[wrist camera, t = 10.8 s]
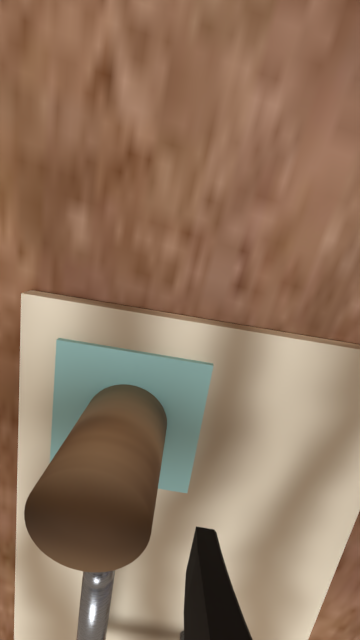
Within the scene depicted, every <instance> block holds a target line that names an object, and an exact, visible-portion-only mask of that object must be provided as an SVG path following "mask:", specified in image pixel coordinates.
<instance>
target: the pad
mask: <svg viewBox="0 0 360 640" xmlns="http://www.w3.org/2000/svg"><path fill="white" fill-rule="evenodd" d="M212 371H213V363H208V362H202V361H196V360H190V359H184V358H178V357H172V356H166V355H160V354H154V353H148V352H142V351H136V350H129V349H123V348H117V347H111V346H105V345H99V344H93V343H87V342H81V341H75V340H69V339H63V338H58V339H57V340H56V357H55V375H54V394H53V412H52V430H51V448H50V462H51V461H52V459H53V458H54V456H55V454H56V453H57V451H58V450H59V448H60V447H61V445H62V444H63V442H64V441H65V439H66V438H67V436H68V435H69V433H70V432H71V430H72V429H73V427H74V426H75V424H76V423H77V421H78V420H79V418H80V416H81V415H82V413H83V412H84V410H85V409H86V407H87V406H88V404H89V403H90V401H91V400H92V398H93V397H94V396H95V395H96V394H97V393H99V392H100V391H101V390H103V389H105V388H107V387H110V386H114V385H120V384H127V385H133V386H137V387H140V388H143V389H145V390H147V391H148V392H150V393H151V394H152V395H154V396H155V397H156V398H157V399H158V400H159V402H160V403H161V405H162V406H163V408H164V411H165V413H166V417H167V430H166V437H165V443H164V450H163V457H162V464H161V470H160V477H159V484H158V489H163V490H169V491H176V492H182V493H187V492H188V488H189V483H190V478H191V473H192V468H193V463H194V458H195V453H196V449H197V444H198V439H199V434H200V429H201V424H202V419H203V415H204V410H205V405H206V400H207V395H208V390H209V385H210V380H211V376H212Z"/></svg>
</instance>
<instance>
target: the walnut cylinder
mask: <svg viewBox="0 0 360 640" xmlns="http://www.w3.org/2000/svg"><path fill="white" fill-rule="evenodd" d="M166 430H167V417H166V413H165V411H164V408H163V406H162V405H161V403H160V402H159V400H158V399H157V398H156V397H155V396H154V395H152V394H151V393H150V392H148V391H147V390H145V389H143V388H140V387H137V386H133V385H127V384H120V385H114V386H110V387H107V388H105V389H103V390H101V391H100V392H99V393H97V394H96V395H95V396H94V397H93V398H92V400H91V401H90V403H89V404H88V406H87V407H86V409H85V410H84V412H83V413H82V415H81V416H80V418H79V420H78V421H77V423H76V424H75V426H74V427H73V429H72V430H71V432H70V433H69V435H68V436H67V438H66V439H65V441H64V442H63V444H62V445H61V447H60V448H59V450H58V451H57V453H56V454H55V456H54V458H53V459H52V461H51V462H50V464H49V465H48V467H47V468H46V470H45V471H44V473H43V474H42V476H41V477H40V479H39V480H38V482H37V483H36V485H35V486H34V488H33V489H32V491H31V492H30V494H29V496H28V498H27V501H26V504H25V510H24V520H25V525H26V528H27V531H28V533H29V535H30V537H31V539H32V540H33V542H34V543H35V545H36V546H37V547H38V548H39V549H40V550H41V551H42V552H43V553H44V554H45V555H47V556H48V557H49V558H51V559H52V560H54V561H56V562H57V563H59V564H61V565H63V566H66V567H68V568H71V569H74V570H79V571H84V572H108V571H113V570H117V569H120V568H122V567H124V566H127V565H128V564H130V563H132V562H133V561H135V560H136V559H137V558H138V557H139V556H140V555H141V554H142V553H143V552H144V550H145V549H146V547H147V545H148V543H149V540H150V536H151V531H152V525H153V518H154V511H155V504H156V498H157V491H158V484H159V477H160V470H161V464H162V457H163V450H164V443H165V437H166Z"/></svg>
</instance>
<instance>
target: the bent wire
mask: <svg viewBox="0 0 360 640" xmlns="http://www.w3.org/2000/svg"><path fill="white" fill-rule="evenodd" d="M114 576H115V570H113V571H108V572H84V571H83V577H82V587H81V597H80V607H79V617H78V627H77V637H76V640H106V634H107V627H108V620H109V612H110V605H111V598H112V591H113V584H114ZM180 640H184V630H183V631H182V632H181V633H180Z"/></svg>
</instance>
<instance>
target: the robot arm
mask: <svg viewBox="0 0 360 640" xmlns="http://www.w3.org/2000/svg"><path fill="white" fill-rule="evenodd" d="M184 640H253V639H252V637H251V634H250V632H249V629H248V627H247V624H246V622H245V619H244V617H243V614H242V611H241V608H240V606H239V603H238V600H237V598H236V595H235V592H234V589H233V586H232V583H231V580H230V577H229V574H228V571H227V568H226V565H225V562H224V558H223V555H222V552H221V548H220V544H219V541H218V537H217V533H216V531H215V530H214V529H208V528H203V527H197V526H196V529H195V533H194V538H193V542H192V547H191V551H190V556H189V560H188V565H187V569H186V579H185V596H184Z"/></svg>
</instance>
